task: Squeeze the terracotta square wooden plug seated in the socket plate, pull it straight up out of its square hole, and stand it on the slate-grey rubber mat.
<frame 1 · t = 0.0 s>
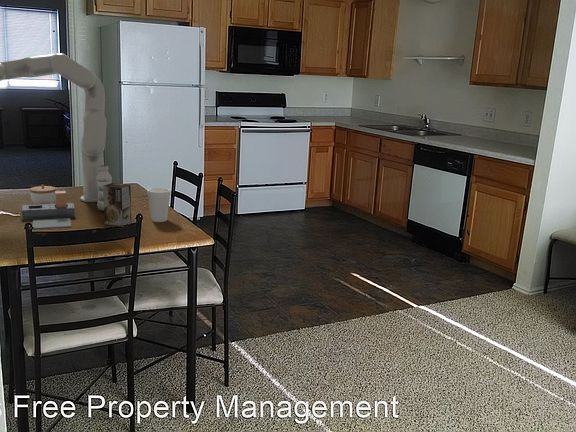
foam cup: (159, 220, 242), on the table
socket plate: (49, 215, 239), on the table
coffee box: (118, 224, 233), on the table
mat: (51, 223, 228), on the table
lidded jar: (44, 205, 256), on the table
plastic bottle: (105, 211, 252), on the table
plug: (61, 215, 241), resting in socket plate
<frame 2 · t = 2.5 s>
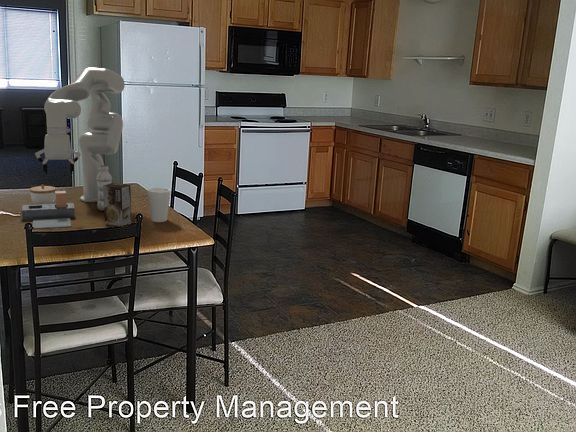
hand: (59, 173, 236), 18 cm above the table, tool pointing down, fingers open, 9 cm apart
nothing on the table moved.
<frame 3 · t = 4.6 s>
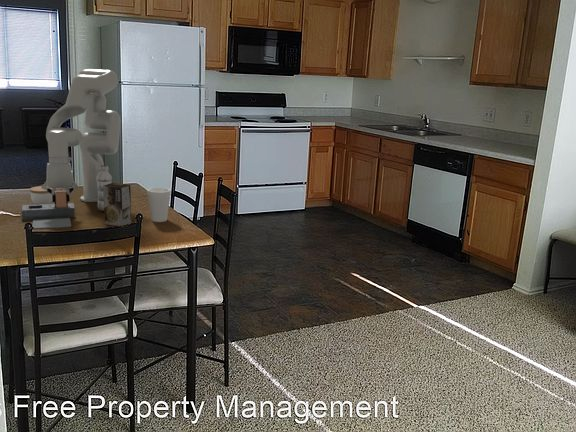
hand: (61, 203, 240), 5 cm above the table, tool pointing down, fingers closed on plug, 4 cm apart
plug: (61, 215, 241), resting in socket plate, touching gripper
everything else where it was.
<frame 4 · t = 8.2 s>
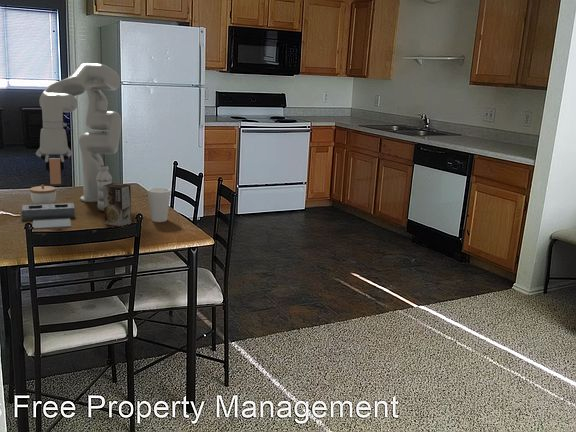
hand: (55, 170, 231), 20 cm above the table, tool pointing down, fingers closed on plug, 4 cm apart
plug: (55, 183, 232), point 15 cm above the table, touching gripper
everything else where it was.
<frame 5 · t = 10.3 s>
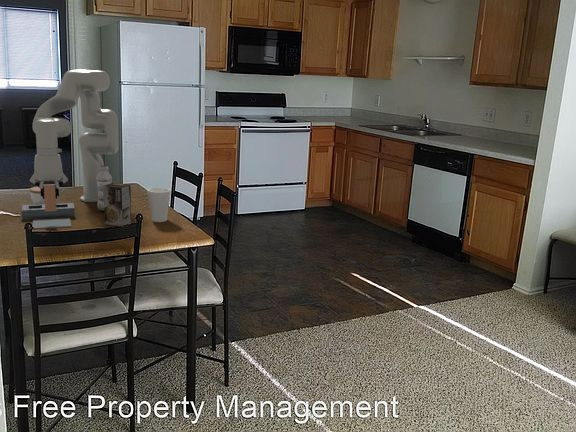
hand: (50, 197, 225), 11 cm above the table, tool pointing down, fingers closed on plug, 4 cm apart
plug: (50, 210, 226), point 6 cm above the table, touching gripper
everything else where it was.
when the fingers open (7 cm above the table, at t = 11.8 s): plug drops 1 cm, resting on mat.
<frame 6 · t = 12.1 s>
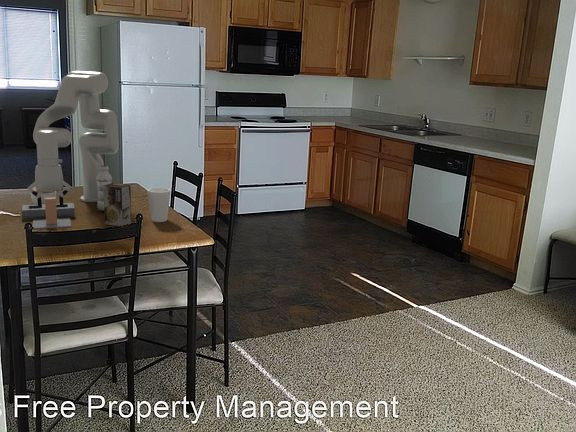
hand: (50, 206, 226), 7 cm above the table, tool pointing down, fingers open, 6 cm apart
plug: (51, 223, 228), resting on mat
everything else where it was.
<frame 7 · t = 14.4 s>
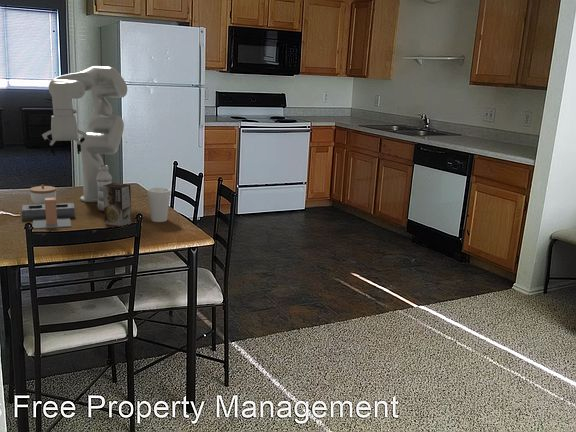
hand: (66, 153, 239), 26 cm above the table, tool pointing down, fingers open, 9 cm apart
nothing on the table moved.
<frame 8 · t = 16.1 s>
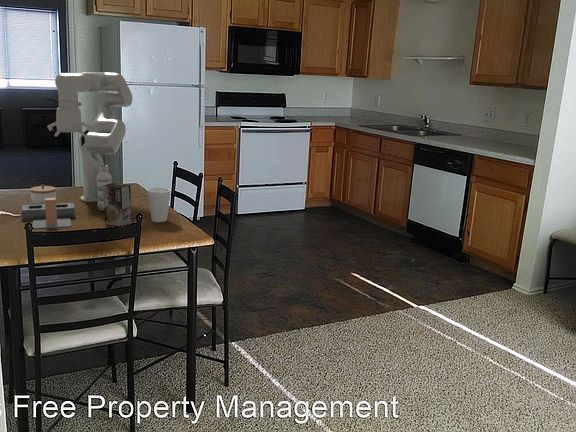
hand: (70, 145, 243), 28 cm above the table, tool pointing down, fingers open, 9 cm apart
nothing on the table moved.
at the end: plug inside the target area on the mat (0.5 cm from its centre), point 0.4 cm above the mat's base; plug tilted 0°; the gripper is holding nothing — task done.
